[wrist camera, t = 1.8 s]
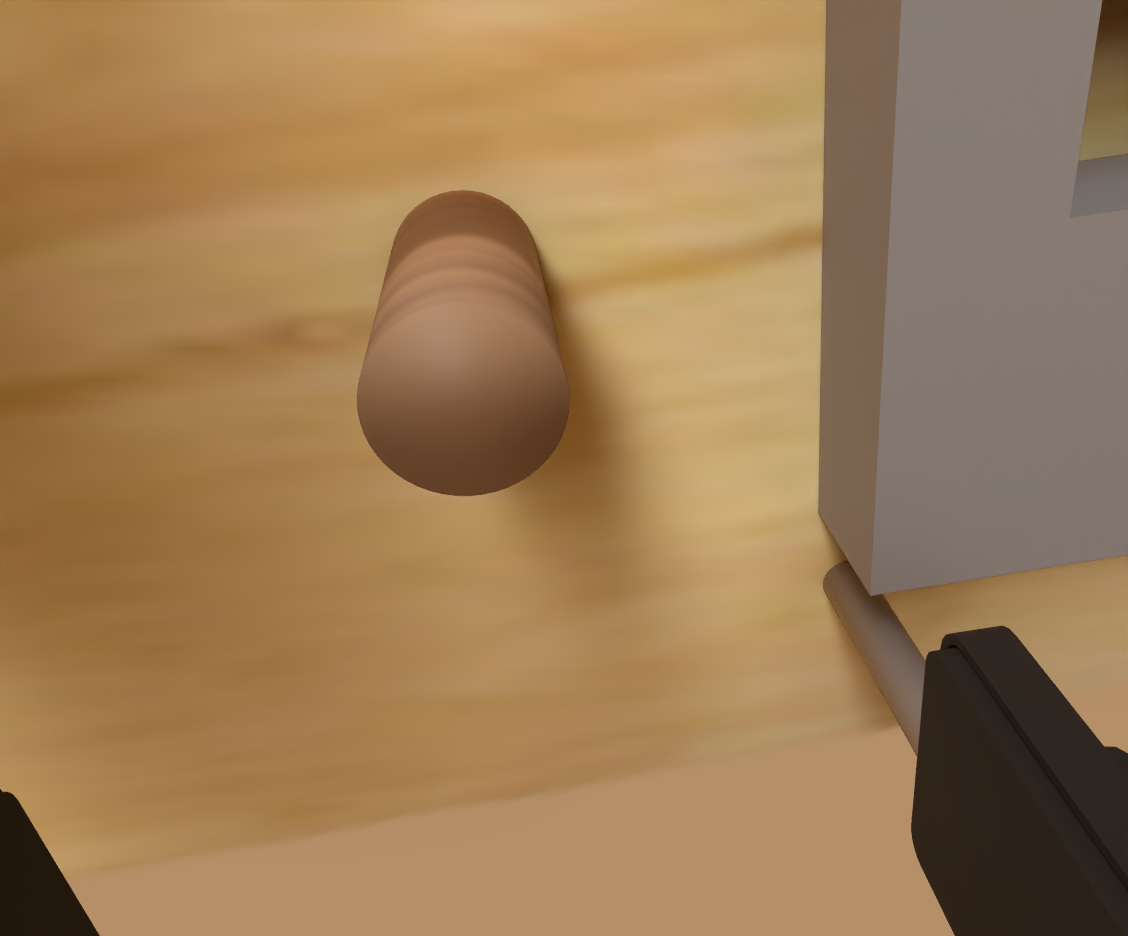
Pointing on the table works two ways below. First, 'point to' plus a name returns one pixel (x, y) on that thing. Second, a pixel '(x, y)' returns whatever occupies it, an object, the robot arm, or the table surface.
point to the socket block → (969, 294)
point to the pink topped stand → (881, 646)
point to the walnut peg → (463, 351)
